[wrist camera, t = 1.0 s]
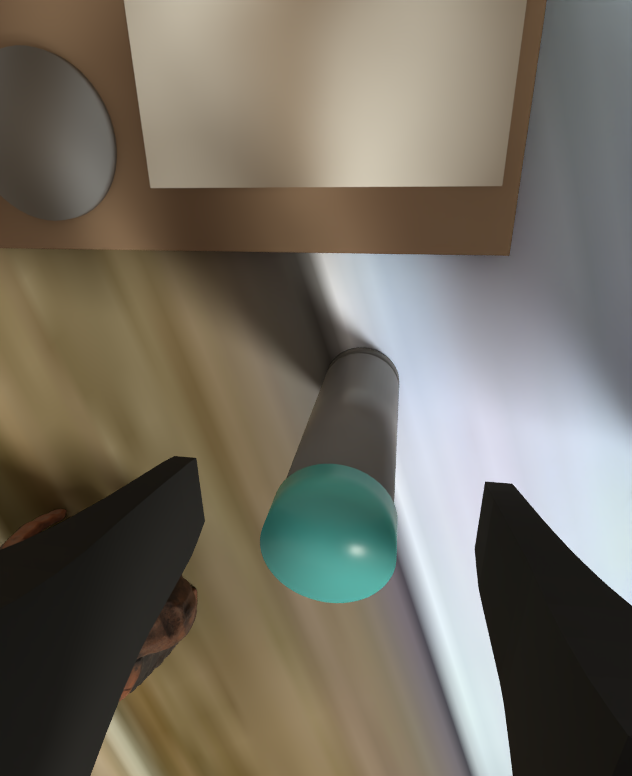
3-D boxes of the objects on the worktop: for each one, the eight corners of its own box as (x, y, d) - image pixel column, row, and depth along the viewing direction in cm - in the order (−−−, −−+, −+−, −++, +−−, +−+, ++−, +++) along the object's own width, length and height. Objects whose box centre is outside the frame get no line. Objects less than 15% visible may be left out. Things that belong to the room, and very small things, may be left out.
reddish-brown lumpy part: (134, 656, 30) (-23, 751, 23) (91, 502, 31) (-70, 551, 24) (275, 652, 23) (110, 788, 16) (214, 454, 24) (36, 504, 17)
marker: (404, 346, 18) (400, 502, 10) (399, 419, 19) (392, 610, 11) (323, 343, 19) (256, 489, 10) (323, 413, 20) (263, 594, 12)
